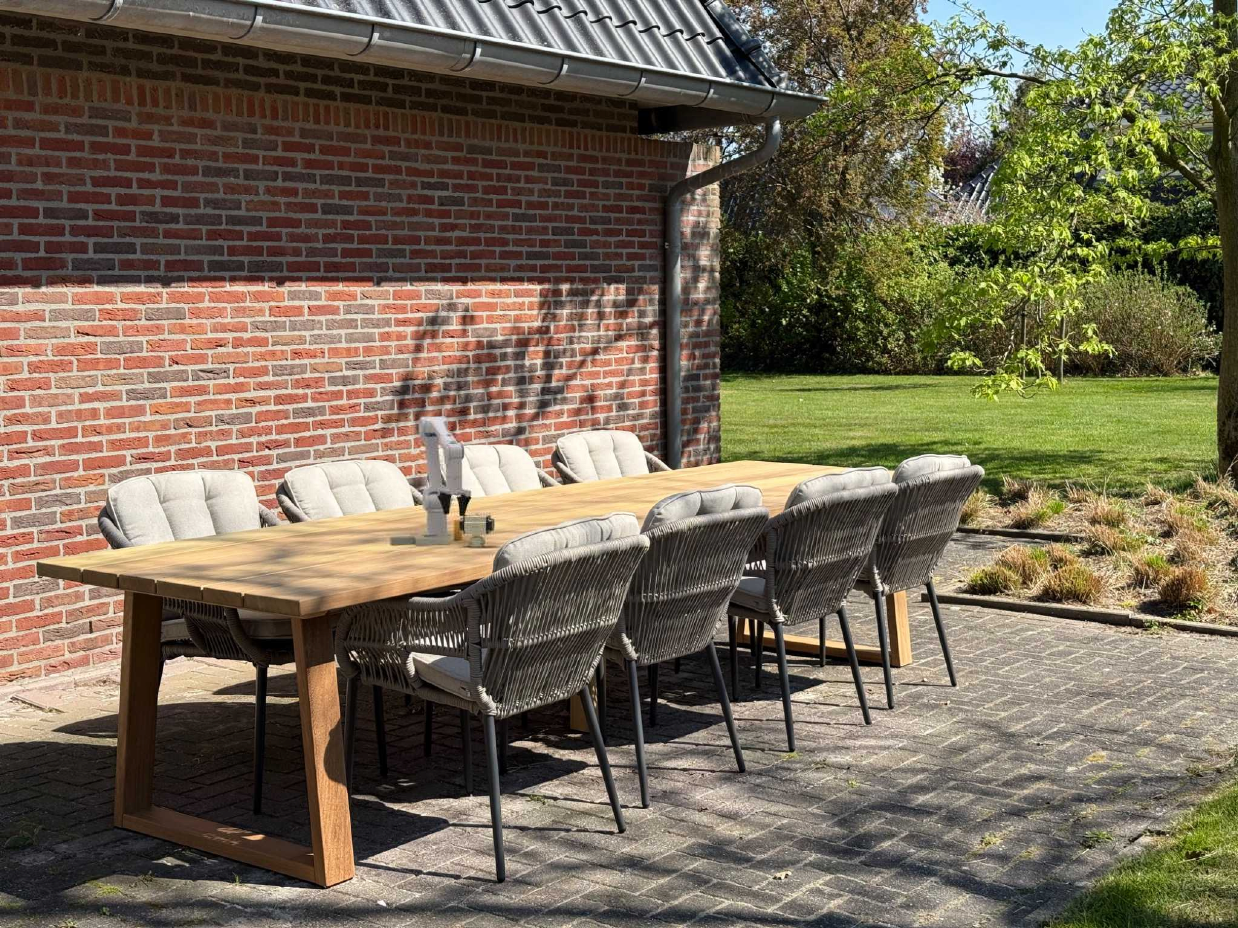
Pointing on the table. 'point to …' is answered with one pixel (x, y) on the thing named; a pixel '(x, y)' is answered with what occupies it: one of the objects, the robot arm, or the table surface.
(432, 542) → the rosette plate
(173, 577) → the table surface
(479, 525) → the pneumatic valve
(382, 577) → the table surface
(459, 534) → the orange cylinder
